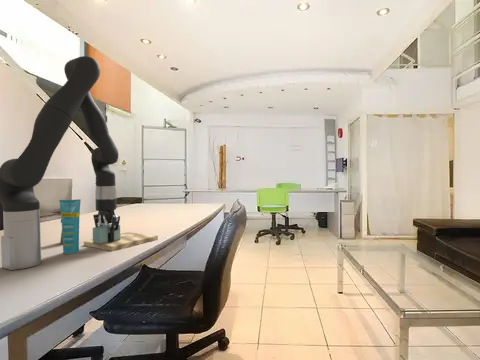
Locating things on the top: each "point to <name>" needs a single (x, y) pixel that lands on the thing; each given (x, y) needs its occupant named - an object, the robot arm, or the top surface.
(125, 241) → the board
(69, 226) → the tube
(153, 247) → the top surface
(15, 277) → the top surface
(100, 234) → the block
